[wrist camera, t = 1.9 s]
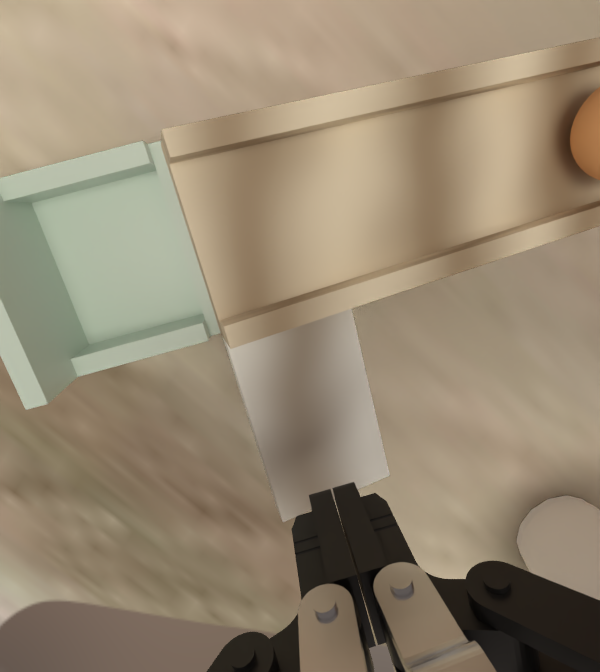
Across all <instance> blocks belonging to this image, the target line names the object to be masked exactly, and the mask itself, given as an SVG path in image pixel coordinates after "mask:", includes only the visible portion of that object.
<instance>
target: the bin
mask: <svg viewBox="0 0 600 672" xmlns="http://www.w3.org/2000/svg"><path fill="white" fill-rule="evenodd" d="M216 334H220V330H219V326H218V323H217V320H216V317H215V314H214V311H213V308H212V304H211V301H210V298H209V295H208V292H207V289H206V286H205V282H204V279H203V276H202V273H201V270H200V267H199V264H198V260H197V257H196V254H195V251H194V248H193V245H192V242H191V238H190V235H189V232H188V229H187V226H186V223H185V220H184V217H183V213H182V210H181V207H180V204H179V201H178V198H177V195H176V191H175V188H174V185H173V182H172V179H171V176H170V173H169V169H168V166H167V163H166V160H165V157H164V154H163V151H162V147H161V141H158V142H154V143H150V144H147V143H146V142H144V141H140V142H136V143H132V144H128V145H124V146H121V147H117V148H113V149H109V150H105V151H101V152H98V153H94V154H90V155H86V156H82V157H78V158H75V159H71V160H67V161H63V162H59V163H55V164H52V165H48V166H44V167H40V168H36V169H32V170H29V171H25V172H21V173H17V174H13V175H9V176H6V177H2V178H0V356H1V358H2V360H3V362H4V364H5V366H6V368H7V371H8V373H9V375H10V377H11V379H12V381H13V383H14V386H15V388H16V390H17V392H18V394H19V396H20V398H21V400H22V403H23V405H24V407H25V409H26V410H27V409H31V408H34V407H38V406H42V405H45V404H48V403H49V402H51V401H52V400H53V399H54V398H55V397H56V396H57V395H58V394H59V393H60V392H62V391H63V390H64V389H65V388H66V387H67V386H68V385H69V384H70V383H72V382H73V381H74V380H75V379H76V378H77V377H79V376H83V375H86V374H90V373H93V372H97V371H101V370H104V369H108V368H112V367H115V366H119V365H123V364H126V363H130V362H134V361H137V360H141V359H145V358H148V357H152V356H155V355H159V354H163V353H166V352H170V351H174V350H177V349H181V348H185V347H188V346H192V345H196V344H199V343H203V342H206V341H209V338H210V336H212V335H216Z"/></svg>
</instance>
